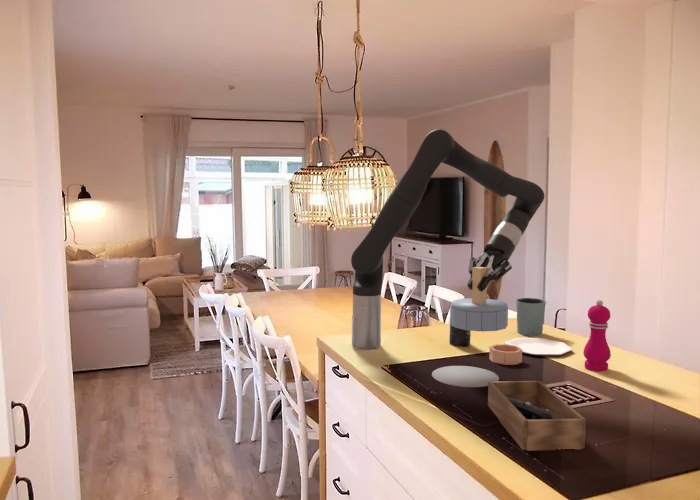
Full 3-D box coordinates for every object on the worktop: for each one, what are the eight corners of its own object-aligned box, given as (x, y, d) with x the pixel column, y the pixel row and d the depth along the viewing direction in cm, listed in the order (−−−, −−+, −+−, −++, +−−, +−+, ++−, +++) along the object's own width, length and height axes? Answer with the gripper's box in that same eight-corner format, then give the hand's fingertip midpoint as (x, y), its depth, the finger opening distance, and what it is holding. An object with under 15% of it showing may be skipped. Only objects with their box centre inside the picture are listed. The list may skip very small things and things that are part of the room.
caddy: (523, 450, 114) (524, 421, 113) (487, 406, 137) (488, 381, 137) (585, 449, 115) (586, 420, 114) (539, 405, 138) (540, 380, 138)
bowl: (495, 365, 169) (496, 352, 168) (486, 357, 177) (486, 344, 177) (525, 365, 169) (525, 352, 169) (514, 356, 178) (515, 344, 178)
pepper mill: (608, 366, 169) (612, 298, 167) (611, 373, 162) (614, 303, 160) (582, 363, 172) (585, 297, 169) (583, 370, 165) (586, 301, 163)
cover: (482, 334, 150) (483, 273, 149) (439, 323, 162) (440, 267, 161) (518, 325, 160) (519, 268, 158) (475, 316, 171) (476, 262, 170)
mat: (439, 389, 149) (439, 387, 149) (426, 367, 167) (426, 366, 167) (508, 387, 150) (508, 386, 150) (487, 366, 168) (487, 365, 168)
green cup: (542, 330, 211) (543, 298, 210) (546, 337, 202) (548, 303, 200) (513, 329, 213) (514, 297, 212) (516, 336, 203) (517, 302, 202)
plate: (525, 339, 201) (525, 334, 201) (580, 350, 187) (581, 345, 187) (494, 349, 187) (494, 345, 187) (551, 362, 173) (552, 357, 173)
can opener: (560, 437, 121) (561, 411, 120) (533, 442, 118) (534, 416, 118) (509, 407, 137) (510, 384, 137) (484, 411, 135) (484, 387, 134)
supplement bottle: (472, 347, 188) (473, 311, 187) (451, 347, 188) (451, 311, 187) (468, 342, 195) (469, 307, 194) (447, 341, 195) (448, 306, 194)
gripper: (478, 231, 168) (448, 277, 162) (518, 234, 157) (489, 283, 151) (489, 248, 172) (461, 293, 166) (529, 252, 161) (501, 301, 155)
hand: (474, 288), depth 159 cm, fingers closed on cover, 2 cm apart
